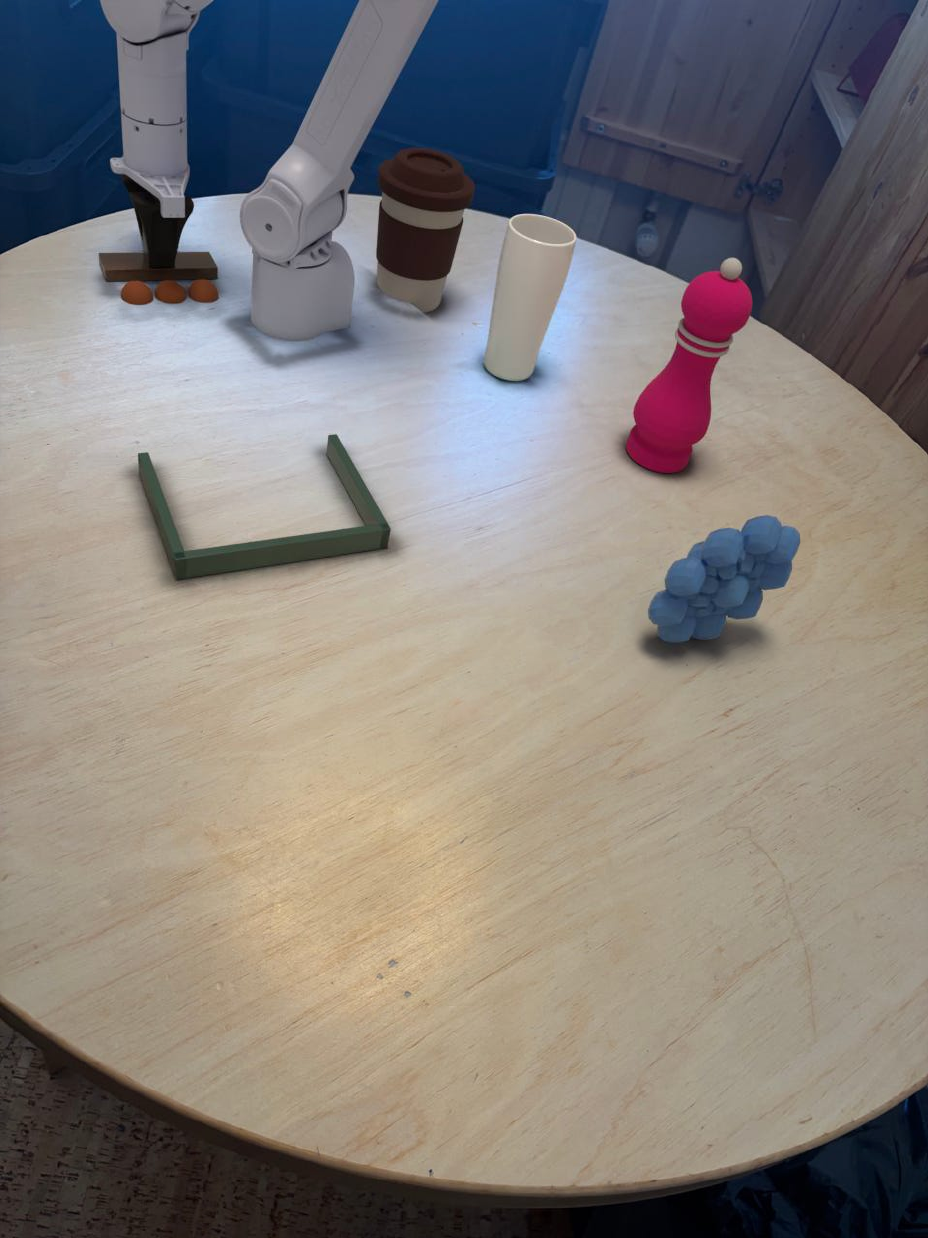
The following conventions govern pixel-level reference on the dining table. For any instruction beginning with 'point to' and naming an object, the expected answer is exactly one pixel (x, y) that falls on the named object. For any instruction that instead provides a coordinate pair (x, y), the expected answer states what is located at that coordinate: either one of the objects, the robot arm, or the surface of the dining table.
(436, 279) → the coffee cup
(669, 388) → the pepper mill
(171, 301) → the ball middle
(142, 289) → the ball
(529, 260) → the drinking glass
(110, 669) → the dining table surface
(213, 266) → the brush
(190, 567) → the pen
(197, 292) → the ball
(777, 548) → the grapes
